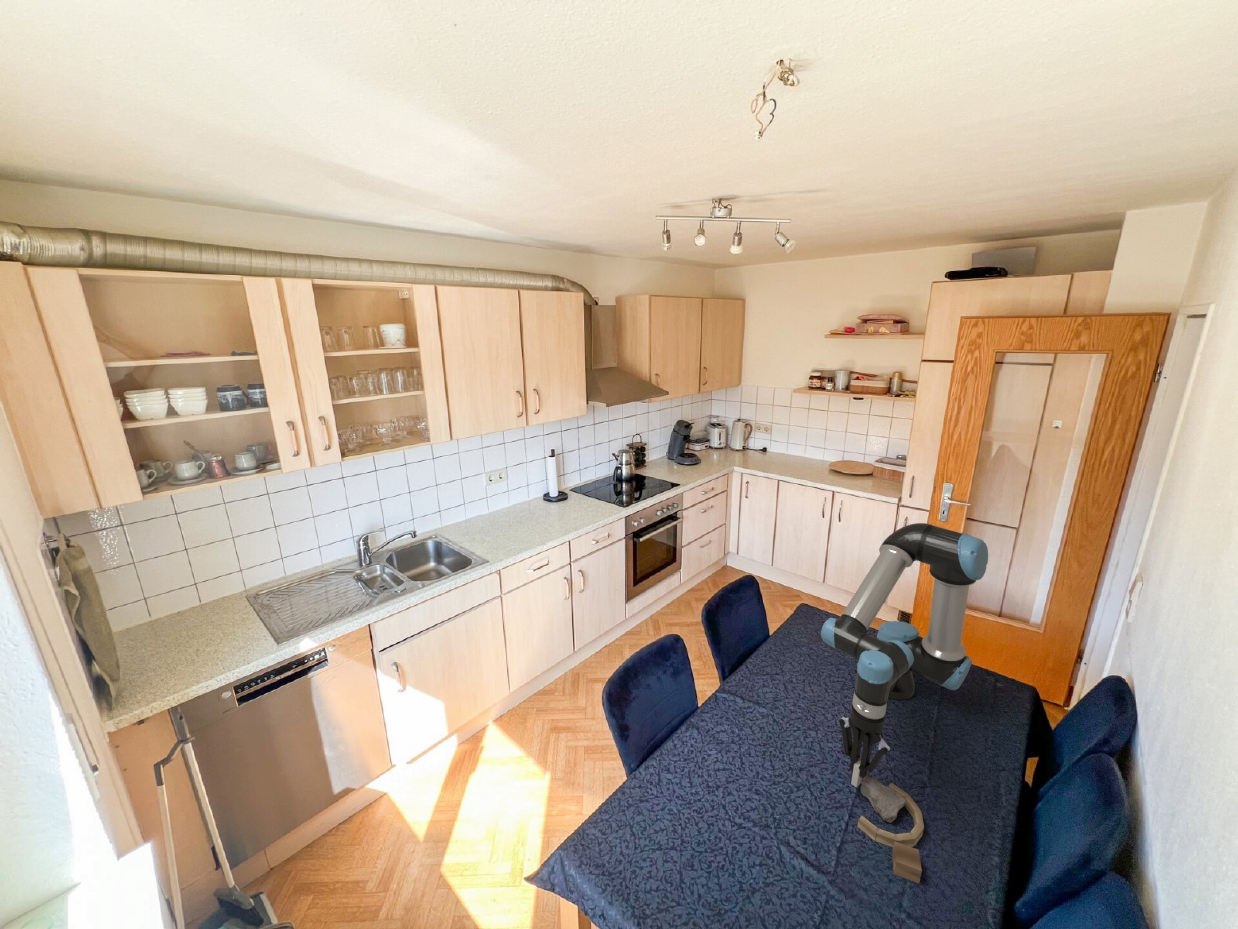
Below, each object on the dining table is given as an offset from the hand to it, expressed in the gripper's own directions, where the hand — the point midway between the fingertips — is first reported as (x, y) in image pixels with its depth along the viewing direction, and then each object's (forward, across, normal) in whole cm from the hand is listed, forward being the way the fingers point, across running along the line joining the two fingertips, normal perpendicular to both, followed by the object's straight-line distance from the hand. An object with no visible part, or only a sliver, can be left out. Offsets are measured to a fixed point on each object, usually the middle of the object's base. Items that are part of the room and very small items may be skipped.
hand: (856, 783), depth 130 cm
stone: (+4, +6, +2) cm, 7 cm away
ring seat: (+3, +11, 0) cm, 11 cm away
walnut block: (+4, +17, -9) cm, 19 cm away
